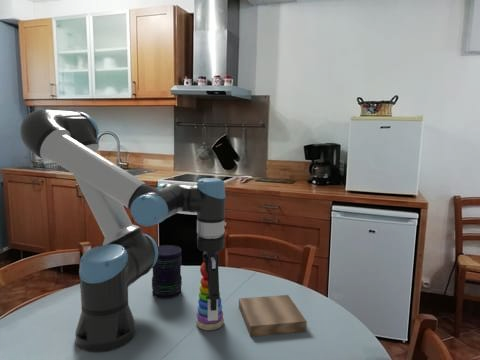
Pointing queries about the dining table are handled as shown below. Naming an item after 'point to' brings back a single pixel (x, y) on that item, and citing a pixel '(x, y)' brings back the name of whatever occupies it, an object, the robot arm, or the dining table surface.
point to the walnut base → (271, 315)
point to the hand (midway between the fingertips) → (210, 308)
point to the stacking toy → (203, 306)
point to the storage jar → (167, 272)
